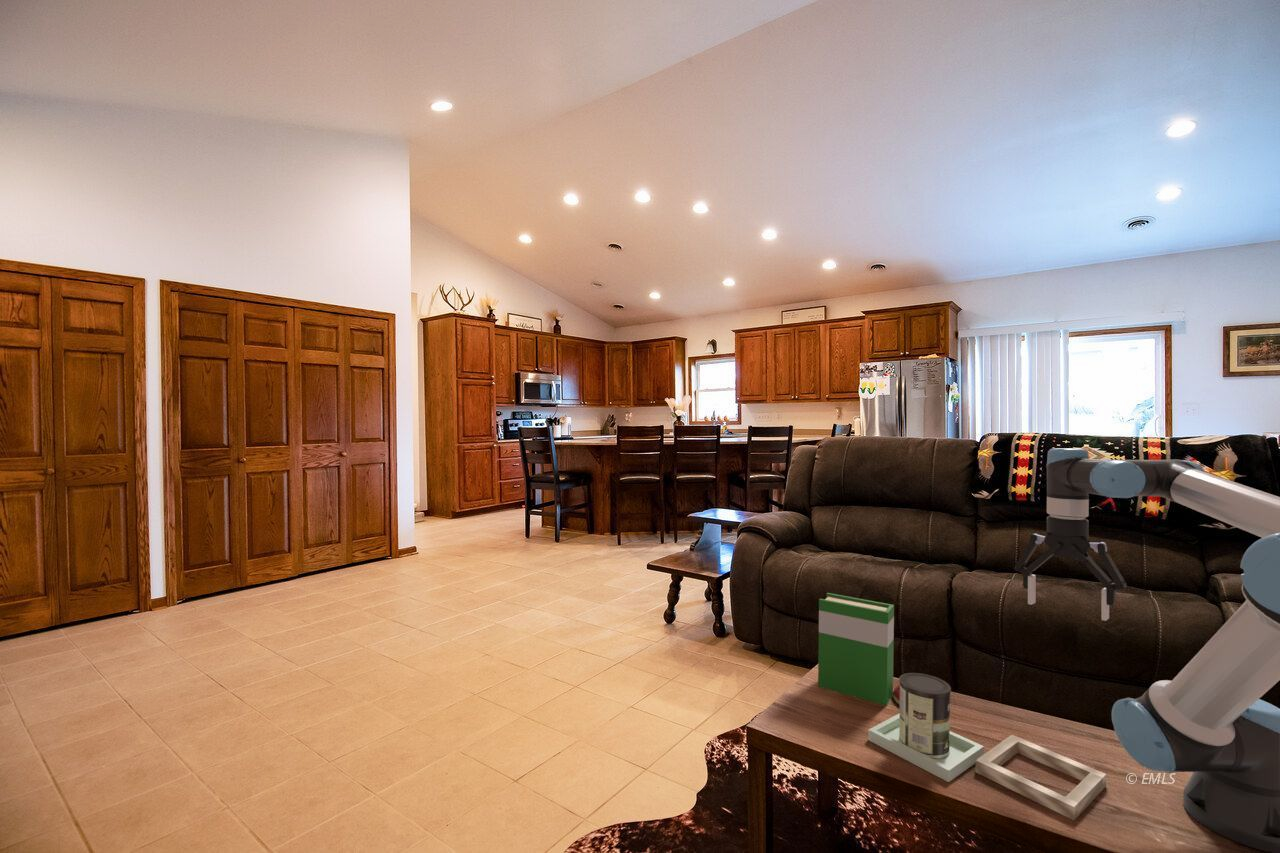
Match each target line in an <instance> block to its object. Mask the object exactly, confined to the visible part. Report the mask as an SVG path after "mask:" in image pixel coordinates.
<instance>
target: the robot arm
mask: <svg viewBox="0 0 1280 853" xmlns="http://www.w3.org/2000/svg"><path fill="white" fill-rule="evenodd" d="M1046 458H1047V461H1046V513H1047V514H1048V516H1047V517H1046V535H1040V534H1039V533H1033V534H1031V535H1030V536H1029V540H1028V541H1029V542H1028V545H1027V546H1026V547H1025V549H1024V551H1023V552H1022V554H1021V555H1020V557H1019V559H1018V560H1017V562H1016V564H1014V565H1013V566H1014V567H1013V570H1014V571H1016V572H1019V573H1020V574H1022V586H1023V589H1025V590H1026V589H1027V605H1034V604H1036V600H1037V597H1036V596H1037V594H1036V593H1037V592H1036V589H1037V588H1036V587H1037V586H1036V585H1037V584H1036V583H1037V582H1036V579H1037V577H1036V576H1037V575H1036V574H1033V572H1034V571H1036V570H1037V569H1038V568H1039V567H1041V566H1042V565H1043V564H1044V563H1045V562H1046V561H1048V560H1049V559H1050V558H1052V557H1053V556H1055V557H1057V558H1059V559H1064V558H1065V559H1068V560H1073V561H1074V560H1079V561H1080V562H1081V563H1082V564H1083V565H1084V566H1085V567H1086V568H1087V569H1088V570H1089V571H1090V572H1091V573H1092V574H1093V575H1094V577H1095V578H1096V579H1097V580H1098V582H1100V583H1101V585H1103V588H1102V589H1101V600H1100V601H1101V605H1100V606H1101V608H1100V610H1101V613H1100V614H1101V621H1105V622H1106V621H1108V620H1109V619H1110V606H1114V605H1115V603H1116V590H1118V591H1119V590H1124V589H1125V588H1127V586H1128V585H1127V582H1126V581H1125V579H1124V576H1123V575H1122V574H1121V572H1120V570H1119V568H1118V567H1117V564H1116V563H1115V562H1114V560H1113V558H1112V557H1111V555H1110V554H1109V546H1108V544H1107V542H1105V541H1101V542H1091V541H1090V538H1089V536H1090V535H1089V527H1090V526H1089V524H1090V523H1089V520H1088V519H1087V518H1088V517H1089V515H1090V514H1089V513H1090V512H1089V508H1090V507H1089V506H1090V503H1089V502H1090V499H1089V498H1090V495H1089V494H1092V495H1097V496H1102V497H1106V498H1111V499H1114V498H1117V499H1130V498H1133V497H1161V498H1164V499H1166V500H1169V501H1171V502H1174V503H1176V504H1179V505H1182V506H1183V507H1184V506H1185V507H1186V508H1189V509H1192V510H1194V511H1196V512H1198V513H1201V514H1203V515H1206V516H1208V517H1211V518H1213V519H1216V520H1218V521H1221V522H1223V523H1225V524H1228V525H1231V526H1233V527H1235V528H1238V529H1240V530H1242V531H1245V532H1248V533H1250V534H1251V535H1255V536H1257V537H1260V539H1258V540H1256V541H1254V542H1253V543H1252V544H1251V545H1250V546H1249V547H1248V548H1247V549H1246V551H1245V552H1244V554H1243V555H1242V558H1241V561H1240V565H1239V567H1240V569H1242V570H1243V573H1241V574H1240V578H1241V581H1242V585H1241V591H1242V595H1243V597H1244V599H1245V601H1244V602H1243V603H1242V604H1241V605H1240V606H1239V608H1238V609H1237V610H1235V612H1234V613H1233V614H1232V615H1231V616H1230V617H1229V619H1227V620H1226V622H1225V623H1224V624H1222V626H1221V627H1220V628H1219V629H1218V630H1217V631H1216V633H1214V635H1213V636H1212V637H1211V638H1210V639H1209V640H1208V641H1207V642H1206V643H1205V644H1204V646H1203V647H1202V648H1201V649H1200V650H1199V651H1198V652H1197V653H1196V654H1195V655H1194V656H1193V658H1191V660H1189V661H1188V663H1187V664H1186V665H1185V666H1184V667H1183V668H1182V669H1181V670H1180V671H1179V672H1178V673H1177V675H1176V676H1175V677H1173V679H1172V680H1170V679H1169V680H1168V679H1165V680H1164V679H1163V680H1158V681H1155V682H1154V683H1152V684H1151V685H1150V686H1149V688H1147V690H1146V691H1145V692H1144V693H1143V694H1142V695H1141V696H1139V697H1137V698H1132V697H1126V698H1125V697H1124V698H1121V699H1118V700H1117V701H1115V702H1114V703H1113V706H1112V709H1111V721H1112V722H1111V723H1112V725H1113V730H1114V732H1115V734H1116V736H1117V739H1118V740H1119V743H1120V744H1121V746H1122V748H1123V749H1124V750H1125V752H1126V753H1127V754H1128V755H1129V756H1130V757H1131V758H1132V759H1133V760H1134V762H1136V763H1138V765H1140V766H1141V767H1145V768H1146V769H1148V770H1150V771H1153V772H1165V773H1168V774H1172V773H1177V772H1178V773H1185V772H1186V773H1187V772H1188V773H1192V774H1191V776H1190V778H1189V779H1188V781H1187V783H1186V785H1185V787H1184V789H1183V790H1182V791H1183V793H1182V805H1183V808H1184V809H1185V811H1186V812H1187V813H1188V814H1189V815H1190V816H1191V817H1192V818H1194V819H1195V820H1196V821H1197V822H1199V823H1200V824H1201V825H1203V826H1204V827H1206V828H1208V829H1209V830H1212V831H1213V832H1214V833H1216V834H1219V835H1220V836H1223V837H1225V838H1227V839H1229V840H1231V841H1234V842H1236V843H1238V844H1241V845H1245V846H1246V847H1249V848H1253V849H1256V850H1259V851H1263V852H1267V853H1280V708H1279V707H1278V706H1275V705H1273V704H1272V703H1270V702H1267V701H1265V700H1263V699H1260V698H1262V697H1263V696H1264V695H1265V694H1266V693H1267V692H1268V691H1270V690H1271V689H1272V688H1273V687H1274V686H1275V685H1276V684H1277V683H1278V682H1279V681H1280V496H1277V495H1275V494H1271V493H1269V492H1265V491H1263V490H1259V489H1256V488H1254V487H1250V486H1248V485H1244V484H1242V483H1239V482H1235V481H1232V480H1230V479H1227V478H1225V477H1221V476H1218V475H1214V474H1212V473H1208V472H1207V471H1206V470H1205V469H1204V468H1203V467H1202V466H1201V465H1200V464H1198V462H1196V461H1195V462H1194V461H1192V460H1191V461H1190V460H1183V459H1182V460H1181V459H1176V458H1174V459H1103V458H1102V459H1098V458H1090V453H1089V451H1088V450H1087V449H1086V448H1085V449H1084V448H1070V447H1069V448H1067V447H1066V448H1065V447H1064V448H1060V447H1059V448H1058V447H1057V448H1050V449H1049V450H1048V451H1047V457H1046ZM1043 542H1044V543H1045V545H1046V546H1047V547H1048V549H1047V550H1045V551H1044V552H1043V553H1042V554H1041V555H1040V556H1039V557H1037V559H1035V560H1034V561H1033V562H1032V563H1030V564H1029V565H1028V566H1027V567H1026V565H1027V563H1028V562H1029V560H1030V558H1031V557H1032V555H1033V554H1034V552H1035V550H1036V549H1037V548H1038V546H1039V545H1040V544H1042V543H1043ZM1090 549H1093V550H1094V552H1095V553H1097V554H1098V556H1099V558H1100V560H1101V562H1102V564H1103V565H1104V567H1105V568H1106V571H1107V572H1108V574H1109V575H1110V576H1108V575H1107V573H1106V572H1104V571H1103V569H1102V568H1101V567H1100V566H1099V564H1097V563H1096V562H1095V561H1094V560H1093V557H1092V556H1091V555H1090V554H1089V553H1088V552H1089V550H1090Z"/></svg>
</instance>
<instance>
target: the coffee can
mask: <svg viewBox="0 0 1280 853" xmlns="http://www.w3.org/2000/svg"><path fill="white" fill-rule="evenodd" d="M898 679H899V680H898V681H899V685H900V705H899V713H900V724H899V742H900V743H902V744H904V745H906V746H908V747H910V748H912V749H914V750H916V751H918V752H920V753H922V754H924V755H926V756H928V757H930V758H932V759H940V758H944V757H947V756H948V755H949V753H950V749H949V747H950V731H951V730H950V729H951V722H950V720H951V693H952V687H951V685H950V684H949V683H948V682H947V681H945V680H943V679H941V678H939V677H937V676H934V675H930V674H926V673H921V672H920V673H919V672H907V673H903V674H901V675H900V676H899V678H898Z"/></svg>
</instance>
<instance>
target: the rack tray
mask: <svg viewBox="0 0 1280 853" xmlns="http://www.w3.org/2000/svg"><path fill="white" fill-rule="evenodd" d="M899 724H900V712H899V713H897V714H895V715H893V716H891V717H889V718H888V719H886V720H884V721H882V722H880V723H879V724H877V725H875V726H873V727H871V728H869V729H868V731H867V732H868V736H867V738H868V739H867V740H868V741H869V742H871V743H873V744H876V745H877V746H879V747H881V748H882V749H885V750H887V751H888V752H890V753H892V754H894V755H896V756H898V757H900V758H901V759H903V760H905V761H907V762H909V763H911V764H913V765H915V766H917V767H919V768H921V769H922V770H924V771H926V772H928V773H930V774H932V775H934V776H936V777H938V778H939V779H941V780H943V781H945V782H947V783H950V782H952V781H953V780H954V779H955V778H957V777H959V776H960V775H961V774H962V773H964V772H965V771H967V770H968V769H969V768H970V767H972V766H973V765H976V760H977V759H978V758H980V757H981V756H982V755H984V754H985V746H984V745H982V744H979V743H978V742H975V741H974V740H973V741H972V740H971V739H969V738H966V737H965V736H962V735H960V734H958V733H955V732H954V731H951V730H950V747H949V749H950V753H949V755H948V756H947V757H944V758H940V759H932V758H930V757H928V756H926V755H924V754H922V753H920V752H918V751H916V750H914V749H912V748H910V747H908V746H906V745H904V744H902V743H900V742H899Z"/></svg>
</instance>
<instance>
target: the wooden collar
mask: <svg viewBox="0 0 1280 853" xmlns="http://www.w3.org/2000/svg"><path fill="white" fill-rule="evenodd" d="M1017 754H1020V755H1022V756H1025V758H1029V759H1031V760H1033V761H1035V762H1038V763H1039V764H1042V765H1044V766H1047V767H1050V768H1051V769H1054V770H1056V771H1058V772H1061V773H1063V774H1065V775H1068V776H1069V777H1072V778H1074V779H1077V780H1078V781H1080V782H1079V783H1078V784H1077V785H1076V786H1075V787H1074V788H1073V789H1072V790H1071V791H1070V792H1069V793H1068V794H1066V795H1062V794H1060V793H1058V792H1056V791H1055V790H1053V789H1052V790H1051V789H1050V788H1047V787H1045V786H1043V785H1042V784H1038V783H1037V782H1036V781H1035V782H1034V781H1032V780H1030V779H1028V778H1026V777H1024V776H1022V775H1019V774H1017V773H1015V772H1013V771H1011V770H1009V769H1007V768H1005V767H1003V765H1004V764H1006V763H1007V762H1008V761H1009V760H1010V759H1011V758H1013V757H1015V756H1016V755H1017ZM975 773H976V774H978V775H980V776H982V777H985V778H987V779H989V780H990V781H993V782H995V783H997V784H999V785H1001V786H1003V787H1005V788H1006V789H1008V790H1010V791H1013V792H1015V793H1016V794H1017V793H1018V794H1019V795H1021V796H1023V797H1025V798H1027V799H1029V800H1031V801H1034V802H1036V803H1037V804H1039V805H1042V806H1043V807H1046V808H1047V809H1050V810H1052V811H1054V812H1055V813H1058V814H1060V815H1062V816H1064V817H1066V818H1068V819H1070V820H1072V821H1075V820H1077V819H1078V817H1079V816H1080V815H1081V814H1082V813H1083V812H1084V811H1085V810H1086V808H1087V807H1089V805H1091V803H1092V802H1093V801H1094V800H1095V799H1096V798H1097V797H1098V796H1099V794H1101V792H1103V790H1104V789H1106V787H1107V773H1104V772H1102V771H1101V770H1097V769H1095V768H1094V767H1093V768H1092V767H1091V766H1088V765H1085V764H1083V763H1081V762H1078V761H1076V760H1074V759H1071V758H1069V757H1067V756H1064V755H1062V754H1060V753H1057V752H1055V751H1053V750H1051V749H1050V750H1049V749H1048V748H1045V747H1042V746H1040V745H1038V744H1036V743H1032V742H1031V741H1028V740H1026V739H1023V738H1021V737H1019V736H1016V735H1014V734H1011V735H1009V736H1008V737H1006V738H1005V739H1004V740H1002V741H1000V742H999V743H998V744H997V745H995V746H994V747H992V748H991V749H989V750H988V751H987V752H984V755H982V756H981V757H980V758H978V759H977V760H976V763H975Z"/></svg>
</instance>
